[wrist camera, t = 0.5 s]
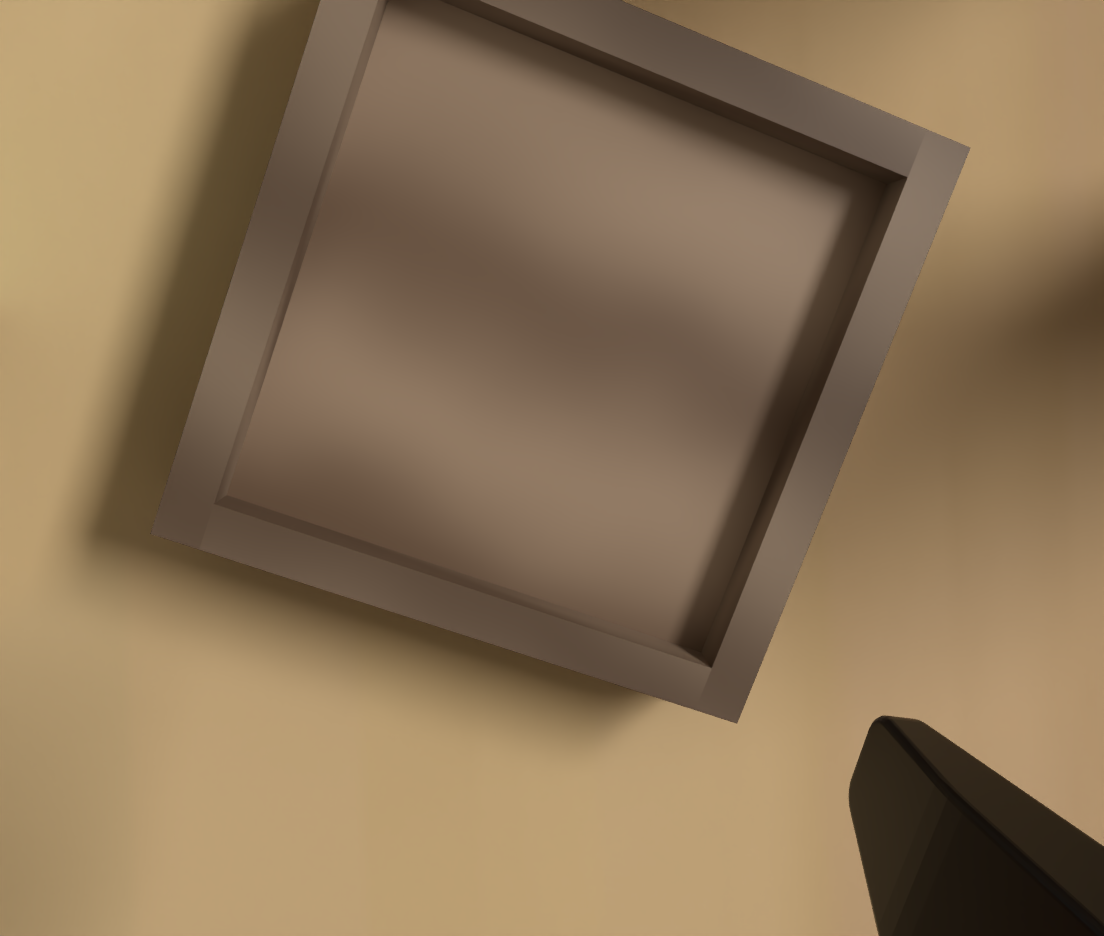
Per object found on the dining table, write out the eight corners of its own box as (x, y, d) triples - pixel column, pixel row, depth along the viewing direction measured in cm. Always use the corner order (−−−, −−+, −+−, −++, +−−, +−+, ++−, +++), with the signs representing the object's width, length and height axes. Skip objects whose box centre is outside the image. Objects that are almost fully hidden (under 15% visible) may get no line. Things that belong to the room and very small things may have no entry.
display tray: (704, 673, 24) (737, 723, 21) (193, 505, 22) (150, 533, 19) (905, 170, 23) (970, 147, 20) (372, -51, 21) (355, -112, 18)
